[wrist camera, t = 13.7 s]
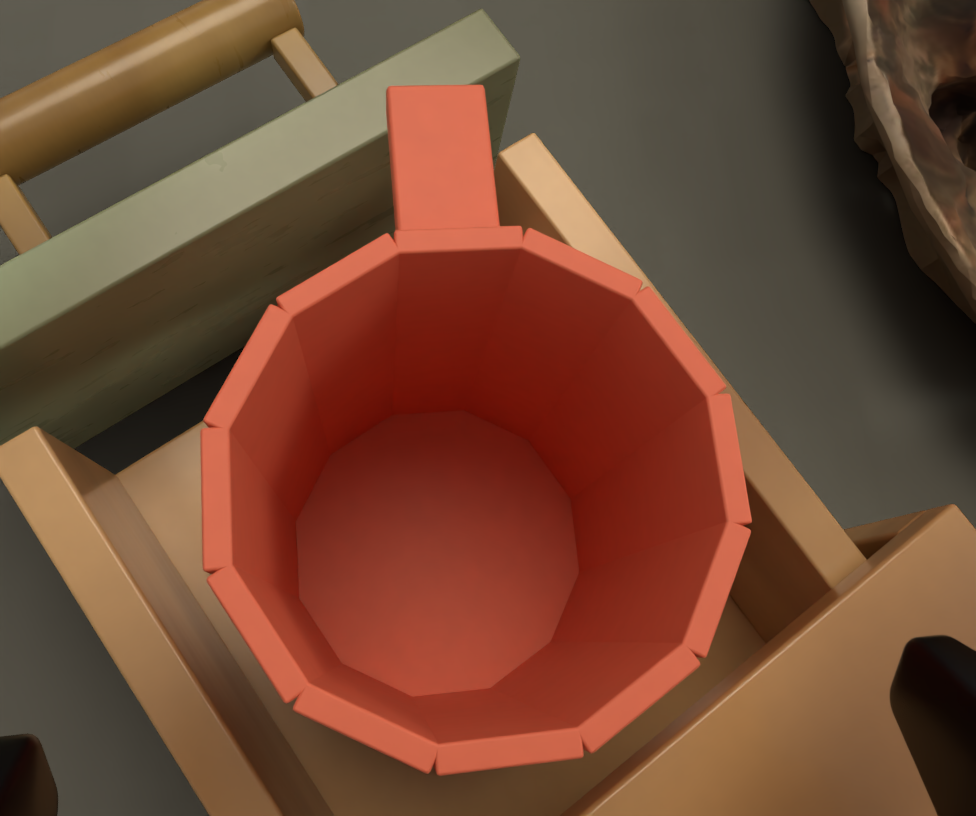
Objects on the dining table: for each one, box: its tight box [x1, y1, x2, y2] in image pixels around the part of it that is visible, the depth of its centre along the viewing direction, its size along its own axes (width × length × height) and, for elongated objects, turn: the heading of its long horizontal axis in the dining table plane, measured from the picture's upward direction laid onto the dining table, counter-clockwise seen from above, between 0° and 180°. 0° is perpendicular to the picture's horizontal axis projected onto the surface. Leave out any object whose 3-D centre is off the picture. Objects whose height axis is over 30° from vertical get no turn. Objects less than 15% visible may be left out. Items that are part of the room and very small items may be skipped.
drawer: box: [0, 0, 867, 816], centre depth 16 cm, size 18×11×5 cm, turn 36°
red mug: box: [200, 85, 752, 776], centre depth 13 cm, size 8×6×8 cm
